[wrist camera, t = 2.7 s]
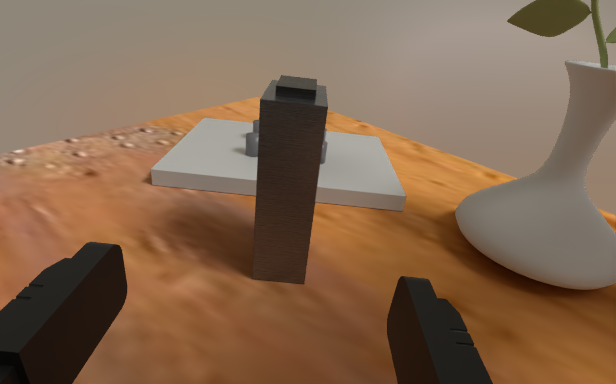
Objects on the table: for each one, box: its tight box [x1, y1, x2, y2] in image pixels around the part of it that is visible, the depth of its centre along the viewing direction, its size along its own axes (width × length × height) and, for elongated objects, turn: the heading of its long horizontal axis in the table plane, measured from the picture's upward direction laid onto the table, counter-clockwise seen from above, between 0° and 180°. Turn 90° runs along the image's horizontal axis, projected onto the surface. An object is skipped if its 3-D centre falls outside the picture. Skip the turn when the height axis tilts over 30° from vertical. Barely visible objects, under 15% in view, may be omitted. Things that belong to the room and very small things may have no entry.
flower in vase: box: [455, 0, 616, 290], centre depth 22 cm, size 13×11×25 cm
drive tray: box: [151, 118, 407, 211], centre depth 37 cm, size 22×16×4 cm
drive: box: [252, 75, 328, 284], centre depth 21 cm, size 3×5×12 cm, turn 179°
